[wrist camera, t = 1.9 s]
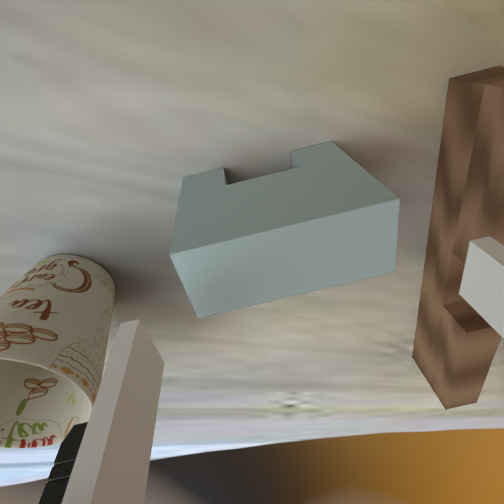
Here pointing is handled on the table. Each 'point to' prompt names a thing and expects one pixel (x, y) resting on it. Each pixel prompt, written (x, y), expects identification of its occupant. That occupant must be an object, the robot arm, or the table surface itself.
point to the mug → (52, 349)
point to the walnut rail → (462, 238)
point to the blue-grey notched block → (282, 231)
